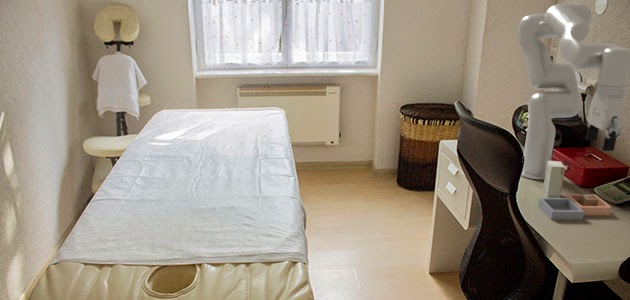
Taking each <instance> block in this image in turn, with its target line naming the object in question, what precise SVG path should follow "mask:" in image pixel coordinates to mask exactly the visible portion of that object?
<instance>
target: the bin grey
mask: <svg viewBox="0 0 630 300" xmlns="http://www.w3.org/2000/svg"><path fill="white" fill-rule="evenodd" d="M537 203H538V204H537V207H538V208H540V210H541V211H542V212H543V213H544V214H545V215H546V216H547V217H548V218H549V219H550V220H557V221H558V220H559V221H560V220H562V221H565V220H566V221H567V220H571V221H572V220H575V221H576V220H577V221H578V220H581V221H583V219H584V216H585V215H584V211H583V210H582V209H581V208H580V207H578V206H577V205H576V204H575V203H574V202H573V201H572V200H571V199H570V198H566V197H563V198H562V197H560V198H546V197H539V199H538V202H537Z"/></svg>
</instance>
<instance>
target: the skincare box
mask: <svg viewBox="0 0 630 300" xmlns="http://www.w3.org/2000/svg"><path fill="white" fill-rule="evenodd" d="M565 171H566V166H565V165H564V164H563V162H562V161H557V160H551V161H547V168H546V174H545V180H543V181H544V182H543V188H542V192H543V195H544V196H545V197H544V198H561V196H562V187H563V183H564V176H565Z"/></svg>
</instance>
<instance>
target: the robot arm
mask: <svg viewBox="0 0 630 300" xmlns="http://www.w3.org/2000/svg"><path fill="white" fill-rule="evenodd" d="M592 19H593V15H592V10H591V8H590V6H588V5H586V4H585V3H557V4H553V5H551V7H549V8H548V9H547V10H546V12H545V13H535V14H534V13H533V14H528V15H525V16H524V17H523V18H521V20H520V22H519V24H518V28H517V39H518V43H519V46H520V48H521V51H522V54H523V57H524V61H525V68H526V73H527V79H528V84H529V86H530V87H531V88H532V89H534V90H539V91H540V90H543V91H540V92H539V91H538V92H536V93H534V94H532V95H531V96H530V97H529V100H528V103H527V108H528V109H527V110H528V121H527V123H528V124H527V129H526V136H525V137H526V138H525V143H524V151H523V156H524V157H525V163H524V169H523V173H522V175H521V177H525V178H528V179H531V180H538V181H539V180H541V181H544V180H545V174H546V168H547V161H552V155H553V150H554V143H555V138H556V127H555V124H554V123H553V121H552V119H557V118H559V119H561V118H563V119H564V118H572V117H575V116H577V115H578V113H579V112H580V109H581V97H580V92H579V85H578V81H577V77H576V76H577V75H576V72H575V70H574V68H575V69H580V70H585V69H587V70H588V69H591V70H592V69H599V70H598V71H599V72H598V77H597V82H596V88H595V92H594V94H593V97H592V99H591V103H590V105H589V110H588V111H587V119H586V120H587V122H588V123H587V130H586V134H585V136H586V137H585V140H586V141H597V139H598V135H599V130H600V131H604V132H605V137H604V138H603V144H602V147H601V150H602V151H603V152H604V151H605V152H613V151H614V150H615V145H616V142H617V139H618V138H619V136H620V135H621V132H622V130H623V129H624V128H623V125H622V123H621V120H622V114H623V108H624V107H623V105H624V97H625V93H626V89H627V85H628V80H629V76H630V48H628V47H621V46H619V45H617V44H614V43H609V42H608V43H607V42H604V43H603V42H601V43H598V42H595V43H593V42H590V43H582V42H583V41H585V39H586V38H587V37H588V35H589V32H590V23H591V22H592ZM541 38H543V39H545V38H547V39H548V38H549V39H551V38H557V39H558V38H560V40H559V41H560V42H559V50H560V55H561V57H562V58H563V59H564V60H565V62H567V63H564V62H557V63H556V62H555V63H554V62H553V61H552V59H551V54H550V49H548V47H547V45H546V44H545V43H544V42H543V41H541ZM545 90H548V91H545ZM550 90H552V91H550ZM554 90H555V91H554Z"/></svg>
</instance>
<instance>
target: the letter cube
mask: <svg viewBox="0 0 630 300" xmlns="http://www.w3.org/2000/svg"><path fill="white" fill-rule="evenodd" d="M578 203H579V204H580V205H581V206H597V205H598V199H597V198H596V197H595V196H594V195H592V194H591V193H590V194H589V193H588V194H587V193H585V194H583V193H582V194H581V193H580V195H579V200H578Z"/></svg>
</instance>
